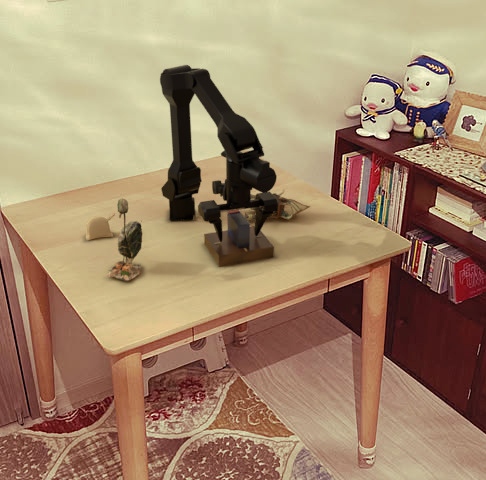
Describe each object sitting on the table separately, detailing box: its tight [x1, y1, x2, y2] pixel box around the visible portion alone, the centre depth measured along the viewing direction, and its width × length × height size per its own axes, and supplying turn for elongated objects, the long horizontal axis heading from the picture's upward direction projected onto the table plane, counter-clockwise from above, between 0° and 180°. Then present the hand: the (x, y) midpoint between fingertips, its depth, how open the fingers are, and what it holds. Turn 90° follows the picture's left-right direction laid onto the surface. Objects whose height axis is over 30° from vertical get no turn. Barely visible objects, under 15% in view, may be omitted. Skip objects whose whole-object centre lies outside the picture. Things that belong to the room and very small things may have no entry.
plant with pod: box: [106, 198, 143, 282], centre depth 165 cm, size 8×11×20 cm
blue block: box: [226, 210, 251, 248], centre depth 174 cm, size 8×3×6 cm, turn 17°
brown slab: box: [203, 225, 275, 267], centre depth 177 cm, size 14×12×3 cm
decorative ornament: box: [85, 213, 116, 241], centre depth 185 cm, size 4×8×5 cm, turn 106°
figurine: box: [244, 188, 311, 221], centre depth 192 cm, size 20×6×17 cm
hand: (238, 238), depth 176 cm, fingers open, 9 cm apart
